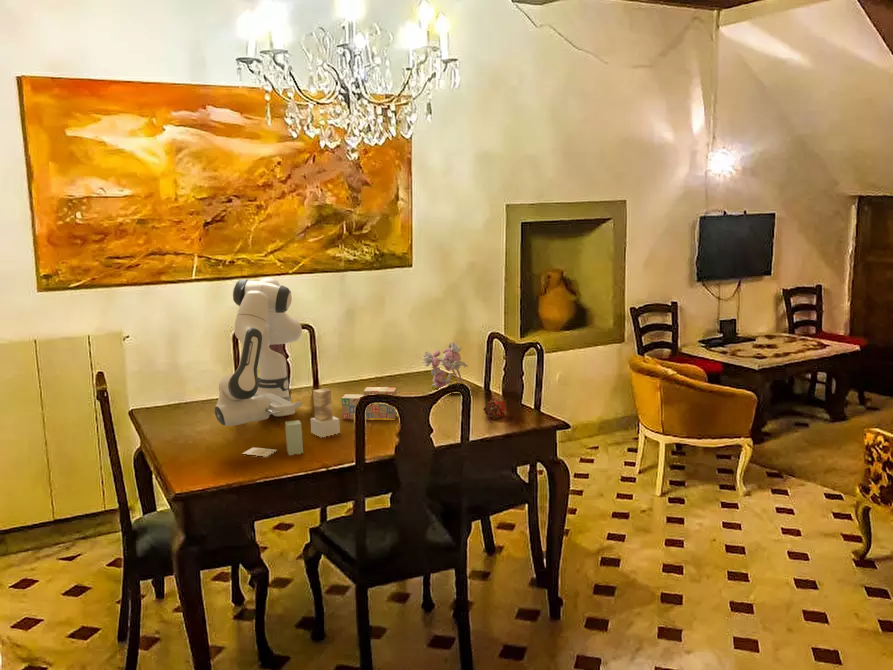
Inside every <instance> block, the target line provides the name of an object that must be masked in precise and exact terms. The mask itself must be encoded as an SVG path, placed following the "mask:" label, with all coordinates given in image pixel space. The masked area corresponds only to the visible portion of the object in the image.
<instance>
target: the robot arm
mask: <svg viewBox="0 0 893 670" xmlns="http://www.w3.org/2000/svg"><path fill="white" fill-rule="evenodd" d="M232 297H233V298H232V300H233V302H234V303H235V304H236V305H237V306H238V307H239V308H238V310H237V314H236V317H235V321H234V332H233V333H234V335H235V337H236V338H237V339H238V341H240V343H241V347H242V348H241V352H240V353H241V354H240V358H239V364H238V367H237V369H236V370H235V372H233V373H232V374H229V375H226V376H224V377H223V378H222V379H221V380H220V382H219V386H218V392H219V393H218V400H217V402H216V405H215V407H214V414H215V417H216V420H217V421H218V422H219V424H221V425H222V426H227V427H229V426H237V425H243V424H247V423H248V422H257V421H258V422H259V421H263V420H267V419H269V418H270V415H273V416H274V417H284V416H290V415H294V414H295V413H296V409H297V408H301V407H303V402H302V401H301V400H297V401H295V402H292V401H291V400H292V399H291V396H290V394H289V393H290V392H289V377H288V373H287V360H286V357H285V356H284V355H283V354H281V353H279V352H277V351H274V350H273V349H271V348H270V346H272V345H283V344H290V343H293V342H297V341H299V339H300V338H301V336H302V333H303V328H302V324H301V322H300V321H299V319H297V318H295V317H293V316H290V315H289V314H287V311H288V310H289V308H290V306H291V304H292V298H293V297H292V292H291V290H290V289H289V287H286V286H285V285H280V283H279V281H278V280H276V279H275V278H273V277H264V278H263V277H262V279H260V280H249V279H239V280H238V281H237V282H236V283H235V285H234V287H233V290H232ZM258 369H259V375H258ZM258 376H259V377H258Z"/></svg>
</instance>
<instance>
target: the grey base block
mask: <svg viewBox="0 0 893 670" xmlns="http://www.w3.org/2000/svg"><path fill="white" fill-rule="evenodd" d="M310 432H311V433H310V434H312V433H313V434H312V435H314V434H315V436H316V435H317V436H316V437H318V436H319V437H318V438H320V439H321V438H322V437H323V438H326V436H328V437H331V436H330V435H332V436H335V435H334V434H336V435H339V434H338V433H340V434H341V426H340V418H339V417H336V416H334V415H333V419H329V420H324V421H319V420H317V419H315V417H310Z"/></svg>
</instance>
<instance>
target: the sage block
mask: <svg viewBox="0 0 893 670" xmlns="http://www.w3.org/2000/svg"><path fill="white" fill-rule="evenodd" d="M285 437H286V438H285V439H286V452H287V454H288V456H294V454H297V455H302V454H301V453H303V454H304V448H303V446H304V445H303V429H302V423H301V421H300V420H299V419H298V420H297V419H296V420H289V421H288V420H287V421H285Z"/></svg>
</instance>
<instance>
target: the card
mask: <svg viewBox="0 0 893 670" xmlns="http://www.w3.org/2000/svg"><path fill="white" fill-rule="evenodd" d="M276 451H277V452H278V449H274V448H273V449H272V448H264V447H263V448H262V447H253V446H252V447H251V448H250V449H247V450H245V451H243V452H242V453H241V455H242V454H247V455H256V456H255V457H257V456H263V457H262V458H268V457H270V456H272V455H273V454H275V453H277V452H276ZM274 452H275V453H274ZM271 454H272V455H271ZM269 455H270V456H269ZM267 456H268V457H267Z"/></svg>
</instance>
